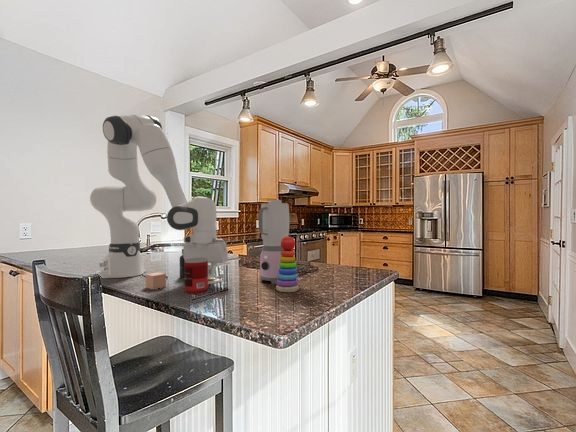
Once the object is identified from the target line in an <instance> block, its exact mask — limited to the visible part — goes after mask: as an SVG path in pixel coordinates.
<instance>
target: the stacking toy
mask: <svg viewBox="0 0 576 432" xmlns="http://www.w3.org/2000/svg"><path fill="white" fill-rule="evenodd" d="M281 247H282V248H283V249H284V250H282V251H281V255H282V256H281V257H280V261H281V262H280V263H279V266H280V268H279V269H278V271H279V274H278V279H277V281H276V283H277V284H276V286H275V290H276V291H277V292H280V293H295V292H297V291H299V290H300V287H299V281H298V277H299V276H298V273H297V272H298V269H297V268H296V267H297V262H296V257H295V255H296V251H295V250H294V248H295V247H296V240H295V239H294V238H293V237H291V236H289V235H288V236H287V237H284V238H283V239H282V240H281Z"/></svg>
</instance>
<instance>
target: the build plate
mask: <svg viewBox="0 0 576 432" xmlns="http://www.w3.org/2000/svg"><path fill="white" fill-rule="evenodd" d="M221 282H222V279H220V278H214V277H212V278H209V279H208V286H209V284H210V285H213V284H217V283H221Z"/></svg>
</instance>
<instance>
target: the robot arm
mask: <svg viewBox="0 0 576 432" xmlns="http://www.w3.org/2000/svg"><path fill="white" fill-rule="evenodd" d="M102 133H103V135H104V138H105V139H106V140H107V149H106V150H107V151H106V153H107V167H108V168H107V171H108V173H109V175H110V176H111V177H112V178H113V179H115V180H117V181H119V182H121V183H122V184H124V186H114V185H113V186H110V185H108V186H107V185H105V186H99V187H96V188H94V189H93V190H92V191H91V193H90V196H89V199H90V200H89V201H90V205H91V206H92V207H93V208H94V209H95V210H96V211H98V212H99V213H101V215H102V216H103V217H104V218H105V219H106V221H107V223H108V225H109V233H110V243H109V245H108V253H107V254H106V256H105V257H104V258H103V259H102V260H101V261H100V262H99V267H100V268H101V270H97V271H96V272H95V275H97V274H99V275H100V276H101V277H100V276H99V277H100V278H102V279H113V278H114V279H119V278H120V279H121V278H130V277H137V276H139V275H143V274H144V273H146V272H147V269H145V266H144V255H143V253H141V252H140V250H141V243H140V231H139V230H140V228H139V227H140V226H139V225H138V224H137V222H135V221H133V220H132V219H130V218H127V217H125V216H124V212H145V211H146V212H147V211H150V210H153V209H154V207H156V204H157V195H156V193H155V191H154V190H153V189H152V188H150V187H148V185H147V184H146V183H144V181H143V180H142V178H141V176H140V173H139V165H138V163H139V162H138V149H139V153H140V156H141V158H142V160H143V163H144V165H145V167H146V168H147V170H148V172H149V174H150V175H152V177H153V178H154V179H155V180H157V181H158V182H159V183H160V185H161V186H162V187H163V189H164V191H165V193H166V196H167V199H168V201H169V203H170V206H171V208H170V209H169V210H168V212H167V215H166V220H167V223H168V225H169V226H170V227H171V228H172V229H174V230H176V231H189V230H190V229H193V230H192V232H193V233H190V234H189V235H187V236H184V237H183V243H184V244H183V246H182V247H183V248H182V249H183V257H184V259H185V260H186V259H190V258H207V260H208V264H211V266H212V267H211V270H209V274H212V275H213V274H215V273H216V268H217V267H218V265H219V264H220V265H222V264H226V263H227V262H228V261H229V255H228V254H229V253H228V248H227V245H228V243H227V242H226V240H224V239H223V238H217V226H216V223H217V218H218V217H217V205H216V202H215V201H214V200H213V199H212V198H209V197H206V196H200V195H199V196H195V197H194V198H192V199H191V200H189V201H188V200H187V199H186V195H185V194H184V192H183V189H182V186H181V183H180V180H179V175H178V169H177V164H176V159H175V155H174V152H173V149H172V146H171V144H170V142H169V140H168V137H167V136H166V134H165V132H164V131H163V126H162V123H161V122H160V120H159V119H158V118H157V117H155V116H151V115H141V114H139V115H138V114H130V115H129V114H128V115H112V116H108V117H106V118H105V119H104V121H103V123H102ZM137 148H138V149H137Z"/></svg>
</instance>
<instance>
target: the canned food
mask: <svg viewBox="0 0 576 432" xmlns="http://www.w3.org/2000/svg"><path fill="white" fill-rule="evenodd" d="M208 264H209V263H208V260H207V258H190V259H186V260H185V262H184V270H185V279H184V290H185V293H187V294H200V293H205V292H206V291H208V288H209V285H208Z"/></svg>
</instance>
